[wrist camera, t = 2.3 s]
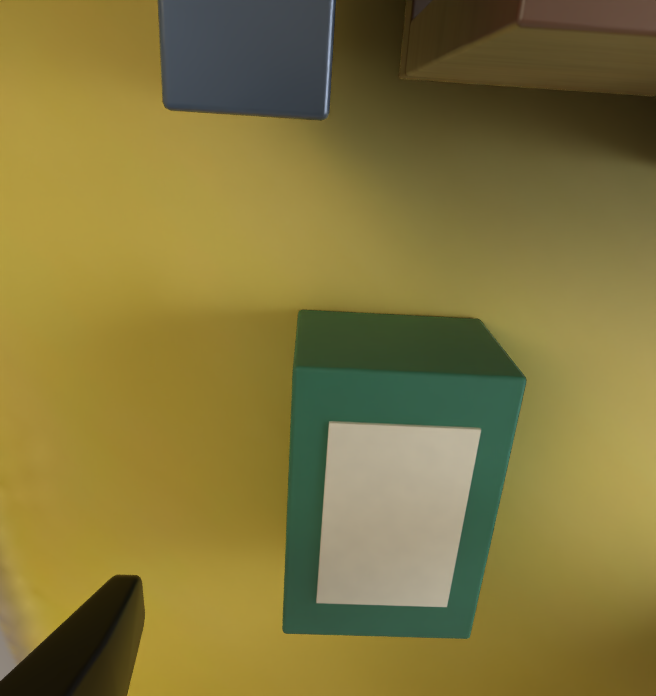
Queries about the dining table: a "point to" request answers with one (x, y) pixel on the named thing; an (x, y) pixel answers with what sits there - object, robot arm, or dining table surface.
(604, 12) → the drawer
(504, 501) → the dining table surface
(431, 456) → the packet
